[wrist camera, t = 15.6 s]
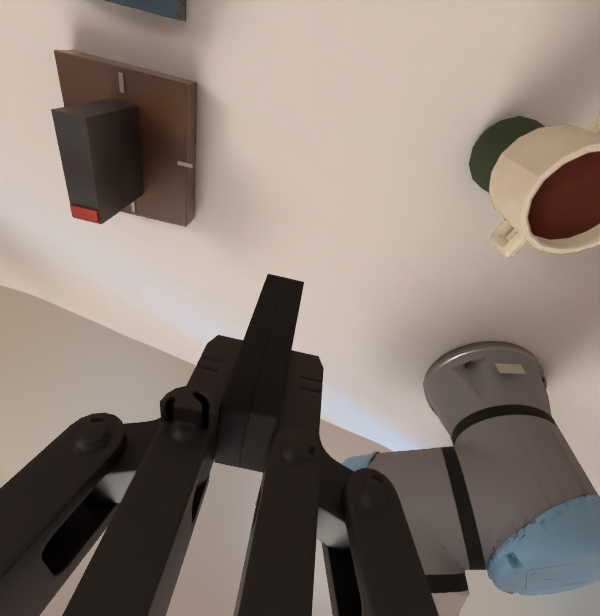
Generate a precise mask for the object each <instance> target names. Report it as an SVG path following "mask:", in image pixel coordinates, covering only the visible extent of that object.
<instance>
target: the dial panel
mask: <svg viewBox="0 0 600 616" xmlns="http://www.w3.org/2000/svg"><path fill="white" fill-rule="evenodd" d="M54 54H55V59H56V64H57V70H58V75H59V80H60V86H61V91H62V96H63V102H64V107H68V106H73V105H78V104H83V103H89V102H94V101H99V100H105V99H110V98H111V99H115V100H119V101H122V102H126V103H130V104H134V105H137V106H138V119H139V135H140V150H141V165H142V180H143V195H142V196H141V197H139V198H138V199H137V200H135V201H134V202H132V203H131V204H130V205H128V206H127V207H125V208H124V209H123V210H121V212H125V213H129V214H134V215H138V216H142V217H146V218H151V219H155V220H159V221H163V222H168V223H172V224H176V225H180V226H185V227H186V226H187V225H188V224H189V223H190V222H191V221H192V220H193V219H194V202H195V147H196V92H197V83H196V82H195V81H191V80H187V79H183V78H179V77H175V76H171V75H167V74H163V73H159V72H156V71H152V70H148V69H144V68H140V67H136V66H132V65H128V64H124V63H120V62H117V61H113V60H109V59H105V58H101V57H97V56H93V55H89V54H85V53H81V52H77V51H74V50H54Z"/></svg>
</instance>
